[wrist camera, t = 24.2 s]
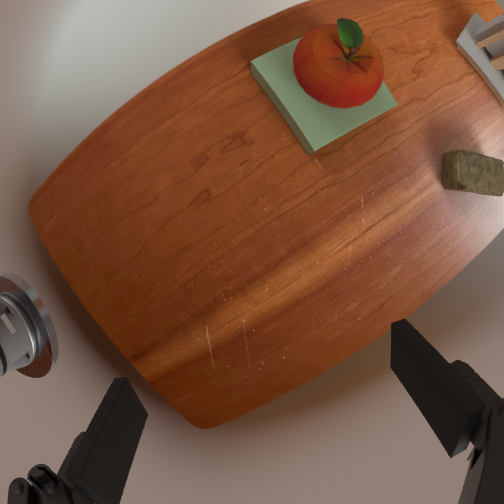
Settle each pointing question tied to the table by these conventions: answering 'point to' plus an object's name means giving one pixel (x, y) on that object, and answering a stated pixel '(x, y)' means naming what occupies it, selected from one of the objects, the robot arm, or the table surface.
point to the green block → (311, 101)
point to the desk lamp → (485, 51)
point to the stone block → (472, 173)
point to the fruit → (338, 65)
